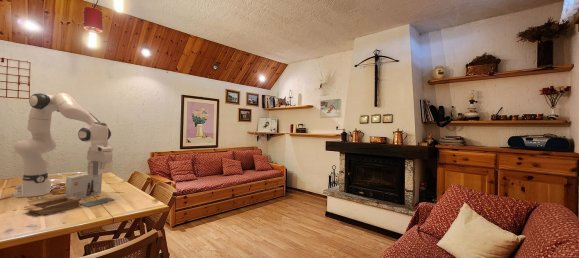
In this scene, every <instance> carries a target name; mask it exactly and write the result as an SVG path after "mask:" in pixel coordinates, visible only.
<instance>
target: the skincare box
mask: <svg viewBox="0 0 579 258" xmlns="http://www.w3.org/2000/svg"><path fill="white" fill-rule="evenodd" d="M102 179H103V174H97V175H89V174H88V172H86V173H81V174H75V175H71V176H70V175H69V176H66V180H65V181H66V183H65V196H66V197H72V196H73V197H77V198H82V199H84V198H88V197H89V198H90V197H92V196H95V195H99V194H102V183H103V182H102V181H103V180H102Z"/></svg>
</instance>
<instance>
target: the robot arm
mask: <svg viewBox="0 0 579 258" xmlns="http://www.w3.org/2000/svg"><path fill="white" fill-rule="evenodd" d="M28 100H29V102H28V103H29V105H30V107H31V108H30V110H29V115H28V120H27V121H28V122H27V127H26V129H27V130H28V132H30V133H31V135H32V138H26V139H23V140H19V141H16V143H15V144H14V145H13V149H14V153H16V154H17V155H19V156H20V157H21V159H22V161H23V166H24V167H23V168H24V169H23V171H24V174H23V175H22V180H21V181H20V182H19V183H18V184H17V186H16V185H15V186H14V189H15V191H12V192H11V194H12V195H13V196H14V197H15V198H28V197H39V196H43V195H47V194H49V193H51V192H52V191H51V190H52V187H51V180H50V179H48V178H49V174H48V162H47V160H45V159H44V158H43V155H42V154H48V153H50V152H51V151H54V150H55V149H56V147H57V142H56V141H55V140H54V138H52V133H51V124H52V116H53V112H57V113H60V114H61V115H62V116H63V117H64V118H66V119H70V120H75V121H80V122H83V123H86V124H87V125H88V126H84V127H81V128H80V129H78V133H77V136H78V139H79V140H80V141H82V142H85V143H86V142H87V143H88V142H89V143H90V147H88V150H87V152H86V160H87V161H88V162H89V161H96V162H101V166H100V169H104V166H105V164H106V163H111V162H112V160H113V151H114V147H112V146H110V145H109V141H108V140H110V138H111V136H112V131H111V130H110V128H109V127H108V124H107V123H105V122H101V121H100V120H98V118H97V117H95V116H94V114H92V113H91V112H90V111H88V110H86V109H85V108H83V107H82V106H81V105H80V104H79V103H78V102H77V101H76V100H75V98H74V97H72V96H71V95H70V94H69V93H67V92H59V93H56V94H51V93H50V94H47V93H33V94H31V96H30V98H29V99H28ZM50 191H51V192H50Z"/></svg>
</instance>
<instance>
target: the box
mask: <svg viewBox="0 0 579 258" xmlns="http://www.w3.org/2000/svg"><path fill="white" fill-rule="evenodd" d="M113 162H114V161H113V159H112V162H111V163H106V164H105V166H104V169H100V166H101V162H96V161H89V160H88V161H87V173H88V174H89V175H97V174H102V175H103V174H108V173H113V168H114V167H113V165H114V163H113Z"/></svg>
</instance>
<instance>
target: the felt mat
mask: <svg viewBox="0 0 579 258" xmlns="http://www.w3.org/2000/svg"><path fill="white" fill-rule="evenodd" d="M113 201H116V198H110V197H102V198H98V199H94V200H91V201H87V202H83V203H79V206H82V207H84V208H85V207H86V208H91V207H96V206H99V205H103V204H105V203H106V204H107V203H111V202H113Z"/></svg>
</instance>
